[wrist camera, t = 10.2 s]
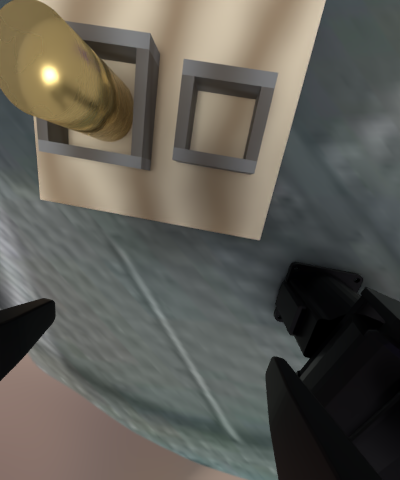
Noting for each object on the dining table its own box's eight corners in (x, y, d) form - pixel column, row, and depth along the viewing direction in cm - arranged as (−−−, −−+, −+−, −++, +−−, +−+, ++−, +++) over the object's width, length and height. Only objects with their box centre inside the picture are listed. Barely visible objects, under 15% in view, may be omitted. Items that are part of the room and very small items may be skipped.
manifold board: (315, 15, 13) (347, -40, 10) (256, 235, 18) (264, 247, 15) (40, -22, 14) (-15, -84, 11) (53, 197, 19) (18, 201, 16)
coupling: (137, 78, 14) (80, 6, 8) (132, 146, 15) (80, 124, 10) (77, 68, 14) (-19, -9, 9) (77, 136, 16) (-5, 109, 10)
